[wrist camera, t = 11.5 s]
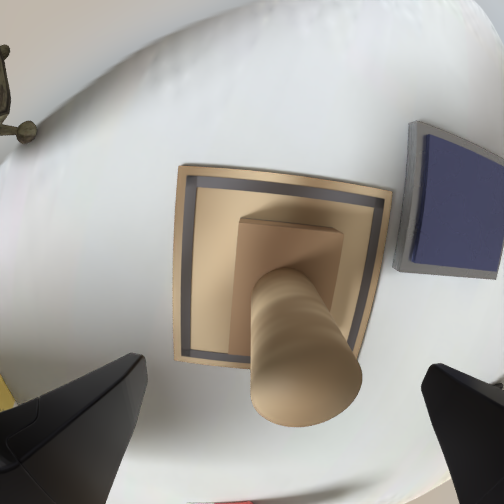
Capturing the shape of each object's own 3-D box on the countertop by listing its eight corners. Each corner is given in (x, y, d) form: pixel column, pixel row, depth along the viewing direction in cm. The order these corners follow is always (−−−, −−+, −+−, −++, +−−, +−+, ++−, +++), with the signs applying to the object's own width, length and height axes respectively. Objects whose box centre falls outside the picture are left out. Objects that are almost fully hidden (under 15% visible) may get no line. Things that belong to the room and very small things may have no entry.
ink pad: (503, 163, 14) (515, 163, 13) (488, 275, 16) (499, 281, 15) (408, 123, 14) (420, 119, 12) (392, 267, 16) (402, 274, 14)
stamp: (332, 227, 15) (421, 279, 6) (311, 340, 17) (351, 453, 8) (240, 217, 15) (224, 263, 6) (230, 335, 16) (215, 455, 8)
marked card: (390, 191, 15) (393, 191, 14) (351, 368, 18) (352, 371, 17) (180, 165, 14) (178, 165, 14) (175, 357, 17) (174, 360, 17)
